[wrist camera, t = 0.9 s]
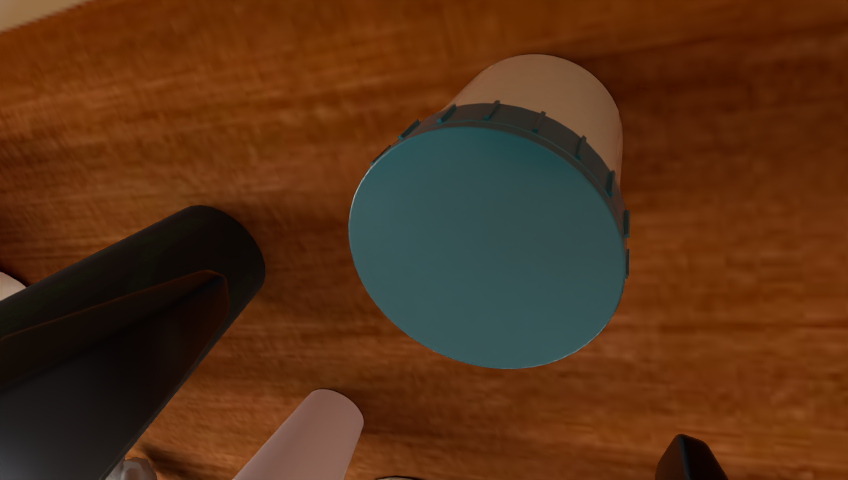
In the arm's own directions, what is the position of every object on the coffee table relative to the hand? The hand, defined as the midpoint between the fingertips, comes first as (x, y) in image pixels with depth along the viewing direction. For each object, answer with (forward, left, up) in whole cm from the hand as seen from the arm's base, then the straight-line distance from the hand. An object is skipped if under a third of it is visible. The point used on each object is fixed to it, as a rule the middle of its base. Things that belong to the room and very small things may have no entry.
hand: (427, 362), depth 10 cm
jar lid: (0, 0, -4) cm, 4 cm away
